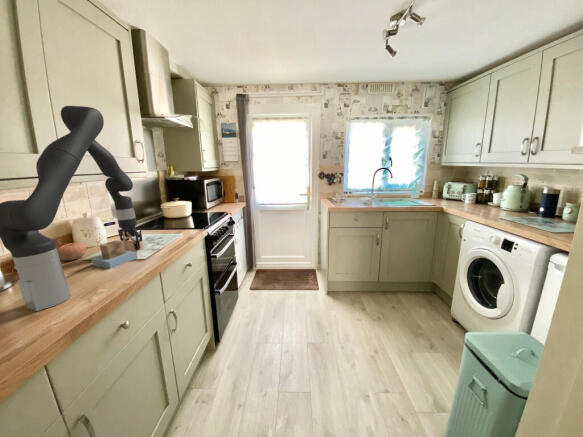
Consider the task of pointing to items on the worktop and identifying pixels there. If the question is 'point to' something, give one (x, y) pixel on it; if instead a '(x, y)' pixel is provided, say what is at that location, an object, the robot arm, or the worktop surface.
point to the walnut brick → (112, 249)
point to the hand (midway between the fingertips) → (133, 249)
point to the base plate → (114, 260)
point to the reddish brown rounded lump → (71, 251)
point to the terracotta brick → (131, 245)
